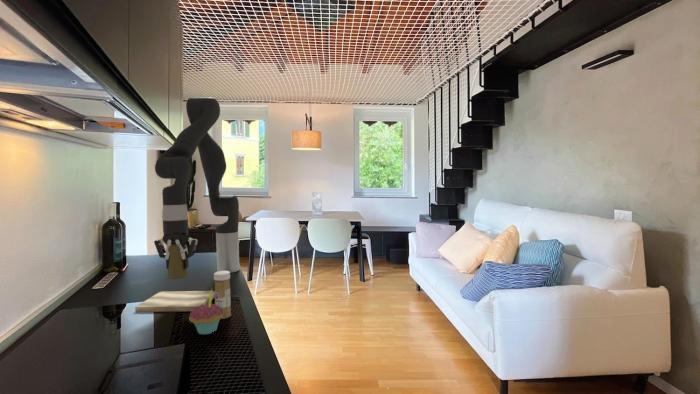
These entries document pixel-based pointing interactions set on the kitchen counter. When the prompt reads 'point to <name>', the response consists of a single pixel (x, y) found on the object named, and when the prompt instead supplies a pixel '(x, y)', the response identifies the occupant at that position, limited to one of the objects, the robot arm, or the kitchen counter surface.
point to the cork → (176, 263)
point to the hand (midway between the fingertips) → (177, 269)
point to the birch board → (175, 301)
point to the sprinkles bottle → (223, 292)
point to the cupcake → (206, 317)
